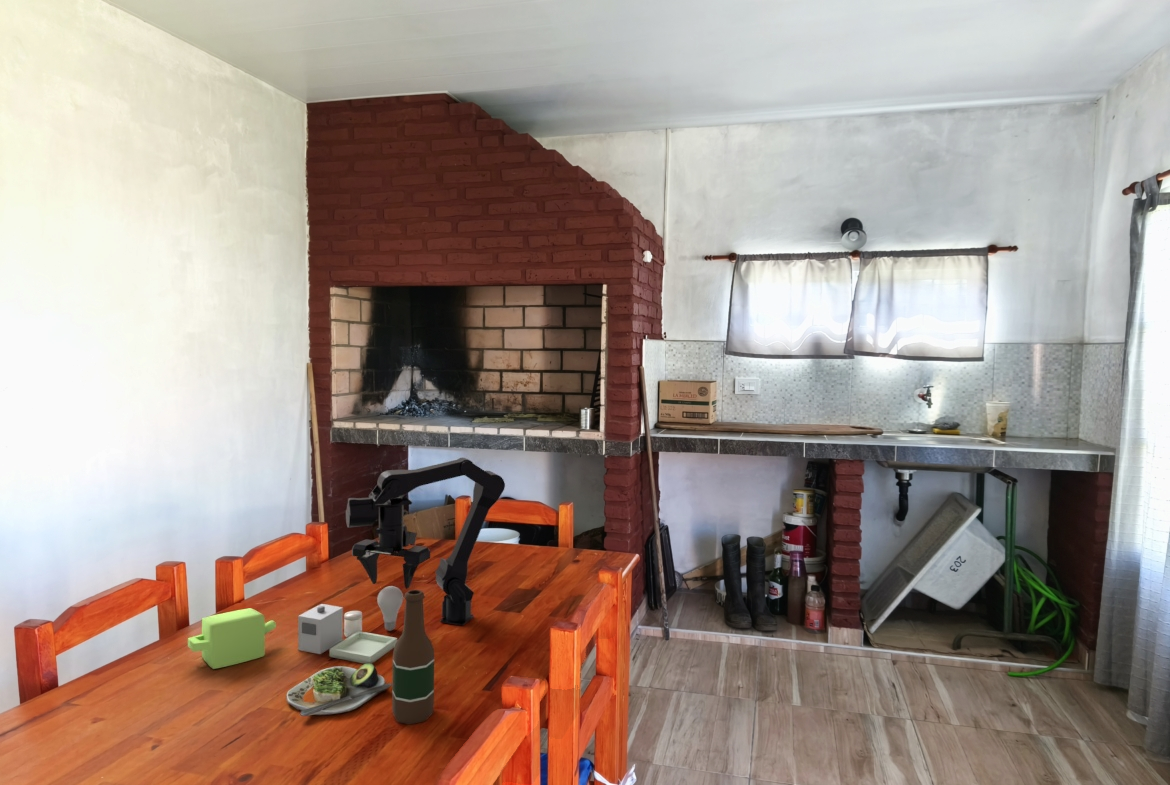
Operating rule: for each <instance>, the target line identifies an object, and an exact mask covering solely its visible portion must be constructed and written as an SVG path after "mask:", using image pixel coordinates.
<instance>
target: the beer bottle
mask: <svg viewBox="0 0 1170 785" xmlns="http://www.w3.org/2000/svg"><path fill="white" fill-rule="evenodd" d="M403 599H405V607H404V618H403V620H404V621H403V628H402V633H401V635H400V636H399V638H397V642H396V645H395V647H394V648H393V652H392V685H391V687H392V689H391V690H392V700H391V703H392V704H391V705H392V715H393V716H394V719H395V720H396V722H397V723H401V724H406V725H410V726H411V725H414V724H420V723H423V722H425V721H426V720H427V719H429V717H431V715H433V714H434V713H433V712H434V704H435V702H434V701H435V700H434V699H435V698H434V697H435V695H434V694H435V651H434V650H435V649H434V646H433V643H432V641H431V639H430V638H429V637H428V635H427V633H426V629H425V628H426V627H425V615H424V613H425V612H424V599H425V593H424V592H423V590H421V589H411V590H408V591H407V592H405V593H404V595H403Z"/></svg>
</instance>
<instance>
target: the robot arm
mask: <svg viewBox="0 0 1170 785" xmlns="http://www.w3.org/2000/svg"><path fill="white" fill-rule="evenodd" d="M461 476H464V477H467V478H468V479H470V481H473V482H474V486H473V491H472V492H473V493H472V494H473V496H472V503H471V506H470V508H469V511H468V514H467V516H466V518H465V520H464V522H463V525H462V528H461V530H460V532H459V535H458V537H457V539H456V540H457V541H456V542H455V545H454V547H453V550H452V552H451V554H450V555H449V556H448V557H447V558H443V557H441V558H440V560H439V565H438V566H437V569H436V570H435V571H434V573H435V574H436V576H435V580H436V583H437V585H438V586H439V588H440V589H441V590H442V591H443V592H444V593H445V595H444V596H443V601H442V602H441V617H442V618H441V619H440V621H439V622H440V623H443V624H444V623H445V624H451V625H456V626H461V627H462V626H465V625H466V624H467V623H468V622H469V621H471V620H472V619H473V618H474V617H475V615H474V614H472V599H473V596H474V594H475V593H474V591H473V590H472V589H471V588H470V587H469V586H468V584H466V581H467V577H468V563H469V560H470V557H471V555H472V552H473V550H474V548H475V545H476V542H477V540H478V538H479V536H480V533H481V530H482V529H483V528H482V527H483V526H484V523H485V521H486V518H487V516H488V513H489V511H490V510H491V508H492V507H493V506H494V505H495V504H496V503H497V502H498V500H499V499H500V497H501V496H502V494H503V493H504V491H505V489H506V488H505V487H506V483H505V480H504V478H503V477H502V476H501V475H499V474H498V473H495V472H493V471H490V470H484V469H483V468H481V467H480V466H478V465H477V464H475V463H474V462H473V461H471V460H470V459H468V458H466V457H459V458H457V459H454V460H450V461H445V462H442V463H437V464H433V465H428V466H425V467H421V468H416V469H390V470H389V469H387V470H384V471H383V472H381V473H380V475H379V476H378V478H377V484H376V485H375V487H374V488H373V489H372V491H370V493H369V495H368V497H361V498H360V497H359V498H358V497H357V498H356V497H349V498H347V504H346V510H345V522H346V526H347V528H357V527H367V526H373V525H374V523H375V524H376V522H377V521H378V528H375V534H377V535H378V540H376V539H375V540H374V539H368V538H367V539H364V540H360V541H358V542H357V543H356V542H355V543H354V545H353V546H352V548H351V555H352V557H356V560H357V561H359V562H360V563H361V565H362V567H363V568H364V571H365V573H366V574H367V575H368V578H369V579H370V581H371V583H372V584H373V585H375V584H377V581H378V580H377V579H378V559H379V557H380V555H385V556H393V557H401V558H403V561H404V563H403V564H402V573H403V580H404V582H403V583H404V589H406V590H407V589H409V588H410V587H411V584H412V581H413V578H414V577H415V576H414V575H415V572H416V571H417V569H418V567H419V566H420V565H421V564H423V563H425V561H427V560H429V559H431V549H429V547H427V546H422V545H421V546H420V545H416V540H417V535H418V533H417V532H414V531H408V527H407V525H404V506H407V505H412V504H413V502H412V501H411V500H410V499H409V498H408V496H407V495H406V494H408V493H411V492H412V491H414V490H415V489H417V488H419V487H421V486H422V487H423V486H426V485H429V484H434V483H438V482H443V481H446V480H450V479H453V478H457V477H459V478H460V477H461ZM409 545H410V546H412V547H410V548H408V549H407V547H408V546H409ZM465 623H466V624H465Z"/></svg>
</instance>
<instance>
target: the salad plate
mask: <svg viewBox="0 0 1170 785" xmlns="http://www.w3.org/2000/svg"><path fill="white" fill-rule="evenodd" d="M392 686H393V682H392V683H391V682H387V683H386V680H385V678H384V677H383V676H382V675H381V674H378V670H377V668H376V666H375V665H374V664H373V663H372V664H369V663H367V664H364V663H363V665H362V664H361V665H360V666H359V668H354V667H349V666H345V665H344V666H341V665H340V666H339V665H338V666H331V667H327V668H325V669H321V670H319V671H318V672H317V671H316V673H314V674H313V675H310V677H307V678H306V679H304V680H303V681H302V682H300V683H297V684H296V685H295V686H293V687H292V688H290V689H289V690H288V691H287V693H286V695H285V697H286V702H287V704H288V705H290V706H292V707H294V708H295V709H296V710H298V711H300V713H299V714H300V716H301V717H309V716H313V715H315V716H324V715H334V714H335V715H336V714H341V713H348V712H351V711H353V710H356V709H358V708H359V707H361V706H362V705H363V704H365V703H367V702H368V701H370V700H372V699H373V698H374V697H376V696H377V695H378V694H380V693H382V692H384V691H385V690H387V689H389V688H391V687H392ZM312 688H313V689H312ZM311 689H312V694H313V699H314V702H308V701H305V700H304V697H305V695H306V693H307V692H309V691H310V690H311Z"/></svg>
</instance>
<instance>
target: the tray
mask: <svg viewBox="0 0 1170 785" xmlns="http://www.w3.org/2000/svg"><path fill="white" fill-rule="evenodd" d="M397 641H398V637H393V636H388V635H383V634H377V633H372V632H366V631H362V632H361V631H358V632H356V633H355V634H353V635H351V636H350V637H346V638H345V639H343V641H341V642H339V643H338V644H336V645H335V646H333V647H331V648H330V649H329V658H335V659H340V660H343V661H350V662H355V663H361V664H363V665H364V664H367V663H369V664H373V663H375V662H376V661H378V660H379V659H380V658H382V657H383V656H385V655H386V654H387V653H389V652H391V651H392V650H394V647H395V645H396V642H397Z"/></svg>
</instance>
